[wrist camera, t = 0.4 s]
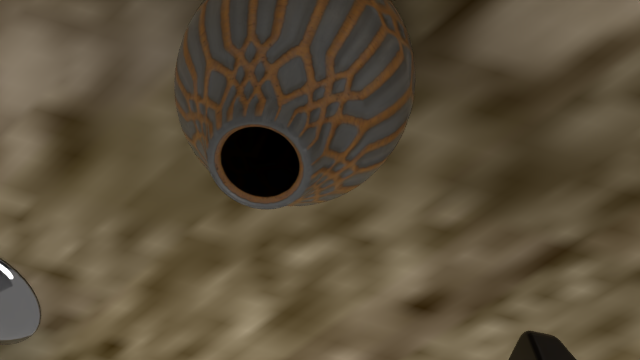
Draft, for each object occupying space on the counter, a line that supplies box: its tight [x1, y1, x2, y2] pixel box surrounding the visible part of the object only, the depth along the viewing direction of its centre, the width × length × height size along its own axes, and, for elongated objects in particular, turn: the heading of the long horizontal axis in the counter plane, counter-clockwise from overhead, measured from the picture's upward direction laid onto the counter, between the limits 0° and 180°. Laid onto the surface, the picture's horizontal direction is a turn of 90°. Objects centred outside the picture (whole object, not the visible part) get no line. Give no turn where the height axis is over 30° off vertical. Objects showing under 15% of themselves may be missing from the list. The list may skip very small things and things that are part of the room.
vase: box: [175, 0, 415, 209], centre depth 16 cm, size 7×7×9 cm
